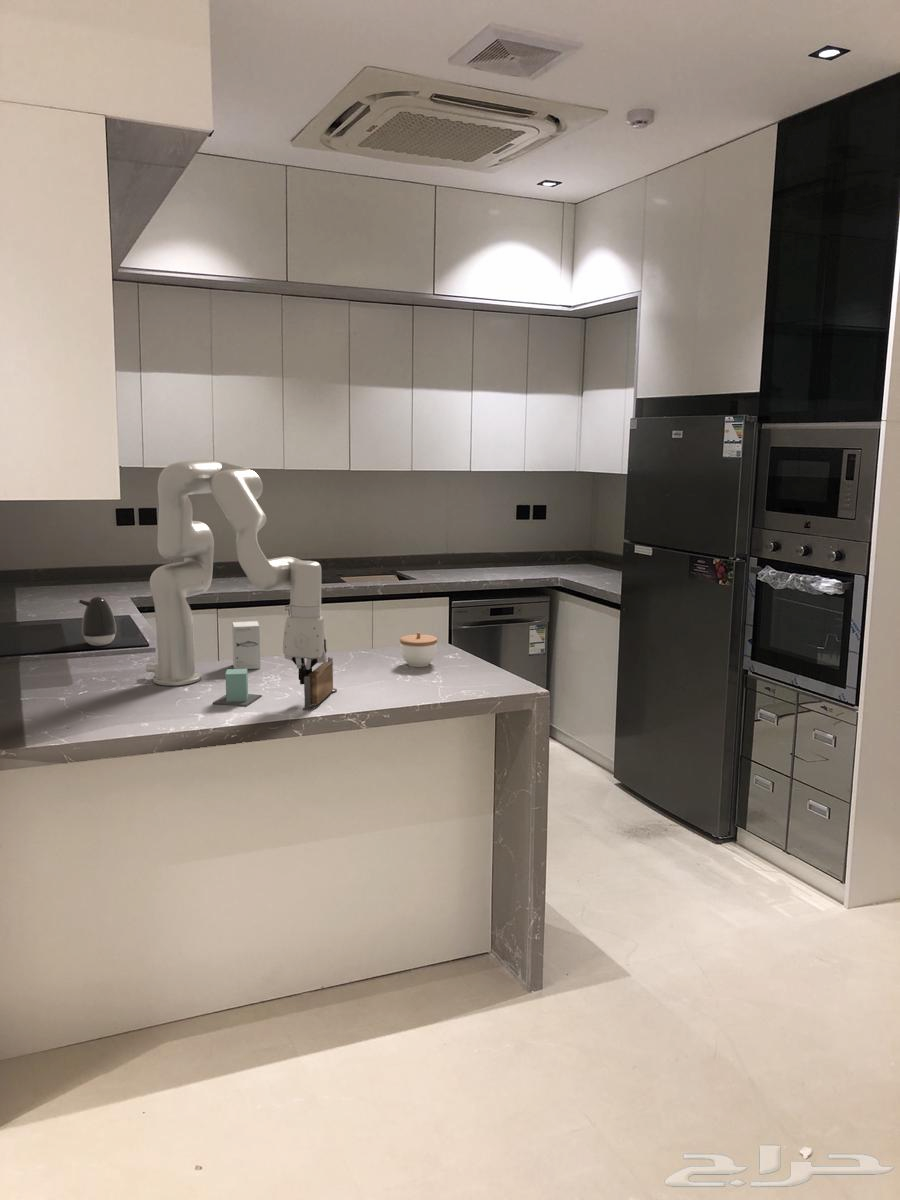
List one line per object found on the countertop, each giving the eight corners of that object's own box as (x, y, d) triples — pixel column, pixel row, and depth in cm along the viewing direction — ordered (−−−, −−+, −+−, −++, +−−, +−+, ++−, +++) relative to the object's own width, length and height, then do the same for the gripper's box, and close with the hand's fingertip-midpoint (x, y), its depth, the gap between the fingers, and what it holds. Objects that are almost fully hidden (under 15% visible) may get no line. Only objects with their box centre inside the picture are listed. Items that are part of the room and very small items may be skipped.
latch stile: (302, 709, 231) (301, 677, 230) (305, 707, 233) (305, 675, 232) (311, 710, 231) (310, 678, 229) (314, 707, 233) (313, 676, 231)
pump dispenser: (83, 641, 303) (79, 594, 300) (117, 639, 306) (114, 593, 304) (81, 648, 294) (77, 600, 291) (116, 646, 297) (113, 598, 294)
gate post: (322, 692, 246) (322, 658, 244) (327, 689, 249) (326, 655, 248) (334, 693, 245) (333, 659, 244) (338, 690, 248) (338, 656, 247)
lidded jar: (395, 667, 272) (395, 635, 270) (405, 658, 282) (405, 627, 280) (431, 670, 269) (431, 637, 268) (441, 661, 280) (441, 629, 278)
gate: (308, 704, 233) (308, 674, 231) (325, 689, 246) (324, 661, 245) (317, 705, 232) (316, 675, 231) (333, 690, 246) (332, 661, 244)
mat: (212, 703, 236) (212, 702, 236) (228, 694, 244) (228, 692, 244) (246, 706, 234) (246, 704, 234) (261, 696, 242) (261, 694, 242)
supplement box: (234, 670, 268) (232, 626, 266) (233, 664, 275) (231, 621, 273) (261, 669, 270) (259, 625, 268) (259, 663, 277) (257, 620, 275)
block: (226, 701, 236) (225, 674, 235) (228, 696, 241) (227, 669, 240) (246, 701, 237) (246, 673, 236) (248, 695, 242) (247, 668, 241)
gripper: (271, 611, 232) (271, 684, 236) (329, 616, 229) (328, 690, 233) (283, 606, 239) (283, 676, 243) (339, 610, 236) (338, 682, 240)
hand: (305, 683), depth 238 cm, fingers closed
